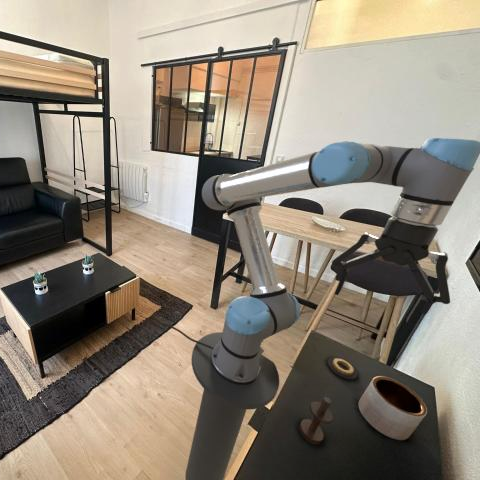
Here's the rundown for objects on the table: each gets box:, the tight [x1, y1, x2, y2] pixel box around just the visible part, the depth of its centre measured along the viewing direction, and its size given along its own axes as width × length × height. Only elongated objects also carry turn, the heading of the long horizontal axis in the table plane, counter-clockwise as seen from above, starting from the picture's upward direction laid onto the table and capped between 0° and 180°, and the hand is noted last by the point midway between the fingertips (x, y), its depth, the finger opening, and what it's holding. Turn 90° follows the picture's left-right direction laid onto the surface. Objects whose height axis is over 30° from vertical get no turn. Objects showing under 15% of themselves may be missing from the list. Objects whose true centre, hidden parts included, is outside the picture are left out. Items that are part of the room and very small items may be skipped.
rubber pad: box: [327, 356, 358, 381], centre depth 81 cm, size 8×8×1 cm
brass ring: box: [332, 357, 355, 375], centre depth 81 cm, size 5×5×1 cm
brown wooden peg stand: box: [298, 396, 334, 446], centre depth 60 cm, size 5×5×12 cm
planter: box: [358, 375, 428, 441], centre depth 65 cm, size 11×11×10 cm
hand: (370, 306), depth 59 cm, fingers open, 13 cm apart
